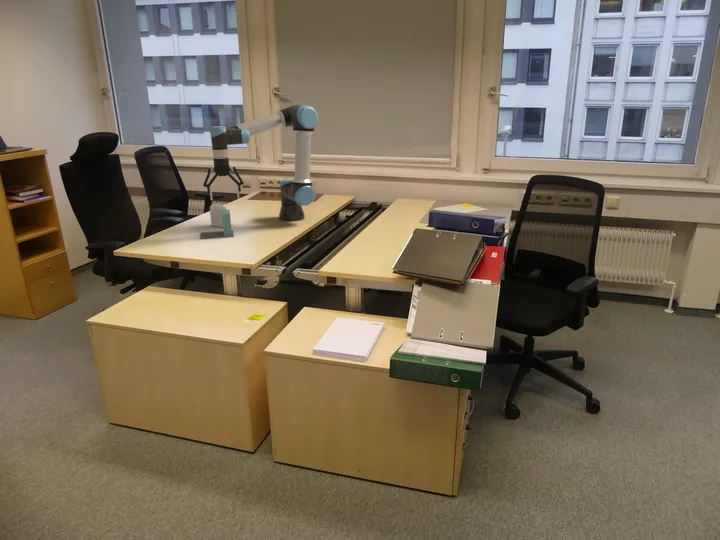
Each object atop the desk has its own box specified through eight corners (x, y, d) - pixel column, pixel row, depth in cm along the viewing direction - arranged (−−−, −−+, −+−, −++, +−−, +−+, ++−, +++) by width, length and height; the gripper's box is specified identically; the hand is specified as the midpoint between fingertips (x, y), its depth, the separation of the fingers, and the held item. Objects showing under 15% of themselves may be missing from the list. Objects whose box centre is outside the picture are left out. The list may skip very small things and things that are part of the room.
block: (231, 231, 286) (229, 209, 282) (231, 235, 277) (230, 213, 274) (223, 231, 285) (221, 210, 281) (224, 236, 276) (222, 213, 273)
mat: (233, 230, 288) (233, 230, 288) (233, 236, 276) (233, 236, 276) (200, 232, 284) (200, 232, 284) (200, 239, 272) (200, 238, 272)
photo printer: (229, 226, 297) (227, 204, 293) (223, 228, 293) (221, 206, 289) (215, 224, 302) (213, 202, 298) (210, 225, 298) (208, 204, 294)
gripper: (245, 155, 274) (249, 195, 281) (195, 157, 268) (200, 199, 276) (246, 157, 267) (249, 198, 275) (195, 159, 262) (200, 202, 269)
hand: (225, 198), depth 275 cm, fingers open, 13 cm apart
